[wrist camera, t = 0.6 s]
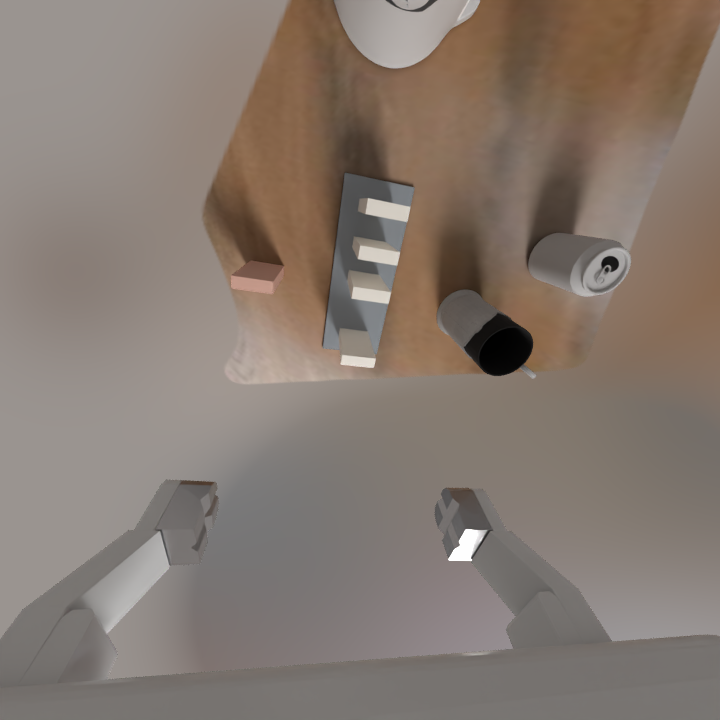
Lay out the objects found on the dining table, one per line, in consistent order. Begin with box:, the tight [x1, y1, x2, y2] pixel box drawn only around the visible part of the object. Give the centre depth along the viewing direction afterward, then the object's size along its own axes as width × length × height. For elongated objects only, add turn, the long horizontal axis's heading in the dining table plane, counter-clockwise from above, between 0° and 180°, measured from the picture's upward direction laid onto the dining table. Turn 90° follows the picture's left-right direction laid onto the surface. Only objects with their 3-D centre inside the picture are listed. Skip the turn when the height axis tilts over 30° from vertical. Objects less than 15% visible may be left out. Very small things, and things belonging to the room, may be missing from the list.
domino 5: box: [339, 328, 376, 368], centre depth 46 cm, size 2×5×10 cm, turn 80°
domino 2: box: [358, 198, 410, 222], centre depth 37 cm, size 2×5×10 cm, turn 80°
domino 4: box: [347, 270, 391, 304], centre depth 42 cm, size 2×5×10 cm, turn 80°
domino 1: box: [231, 261, 284, 294], centre depth 40 cm, size 2×5×10 cm, turn 79°
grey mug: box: [437, 290, 536, 378], centre depth 46 cm, size 9×14×15 cm, turn 52°
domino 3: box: [352, 236, 400, 266], centre depth 39 cm, size 2×5×10 cm, turn 80°
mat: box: [323, 173, 414, 354], centre depth 46 cm, size 27×10×1 cm, turn 170°
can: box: [528, 233, 631, 296], centre depth 42 cm, size 8×8×12 cm
